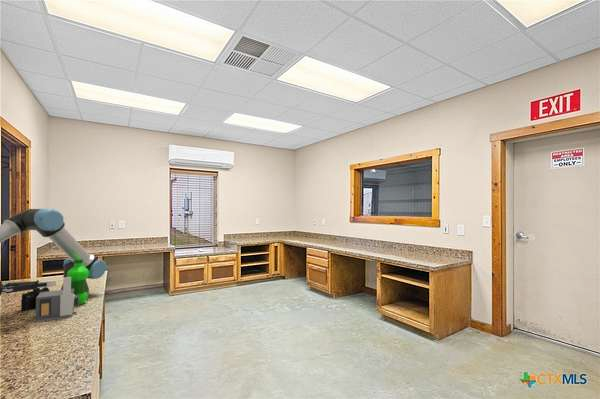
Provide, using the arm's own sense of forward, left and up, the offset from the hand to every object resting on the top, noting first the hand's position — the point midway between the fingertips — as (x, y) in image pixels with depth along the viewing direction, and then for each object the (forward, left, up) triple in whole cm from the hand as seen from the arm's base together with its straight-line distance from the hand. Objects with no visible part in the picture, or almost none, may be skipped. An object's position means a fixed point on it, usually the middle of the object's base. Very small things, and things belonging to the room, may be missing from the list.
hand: (55, 283), depth 149 cm
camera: (-27, -9, -18) cm, 34 cm away
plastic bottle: (-23, +8, -18) cm, 30 cm away
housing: (-7, +1, -17) cm, 19 cm away
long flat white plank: (0, +5, -16) cm, 17 cm away
